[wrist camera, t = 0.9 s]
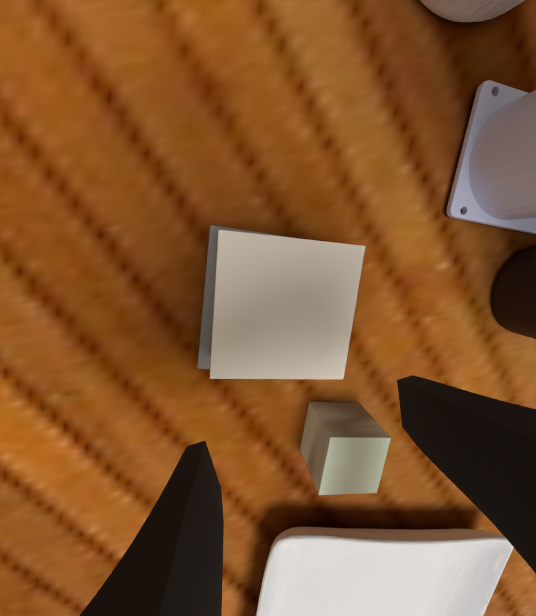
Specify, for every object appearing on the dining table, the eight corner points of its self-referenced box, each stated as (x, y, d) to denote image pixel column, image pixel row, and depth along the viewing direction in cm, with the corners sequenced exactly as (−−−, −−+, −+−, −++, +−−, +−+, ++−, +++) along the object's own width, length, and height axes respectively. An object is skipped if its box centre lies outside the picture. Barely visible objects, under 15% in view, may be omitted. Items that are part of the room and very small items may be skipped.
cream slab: (342, 246, 16) (365, 245, 13) (325, 360, 17) (343, 379, 15) (218, 232, 14) (218, 229, 12) (210, 358, 16) (210, 378, 13)
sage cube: (358, 402, 21) (390, 437, 17) (348, 448, 21) (377, 492, 18) (308, 400, 20) (330, 437, 16) (299, 448, 21) (318, 494, 17)
